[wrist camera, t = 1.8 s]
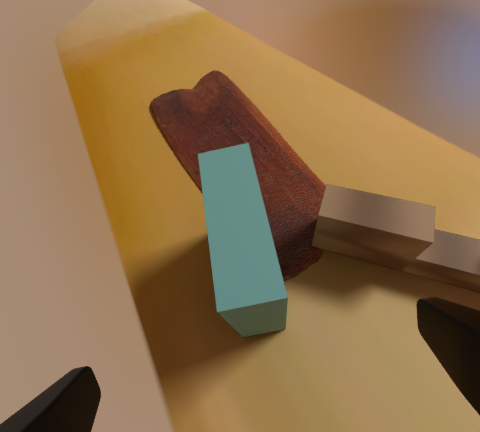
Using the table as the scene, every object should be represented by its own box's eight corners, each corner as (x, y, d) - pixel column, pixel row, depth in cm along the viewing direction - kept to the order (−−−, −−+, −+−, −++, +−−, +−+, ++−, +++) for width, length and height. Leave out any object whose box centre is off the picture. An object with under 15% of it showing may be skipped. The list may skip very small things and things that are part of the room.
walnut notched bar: (599, 288, 18) (697, 261, 14) (607, 327, 17) (717, 310, 13) (318, 219, 23) (326, 183, 19) (311, 246, 22) (318, 215, 18)
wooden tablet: (148, 109, 34) (142, 97, 33) (220, 75, 36) (217, 62, 34) (262, 300, 21) (260, 294, 20) (368, 235, 23) (374, 225, 21)
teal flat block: (285, 329, 19) (287, 297, 12) (243, 337, 19) (217, 312, 12) (259, 218, 24) (248, 142, 16) (225, 225, 24) (197, 153, 16)
